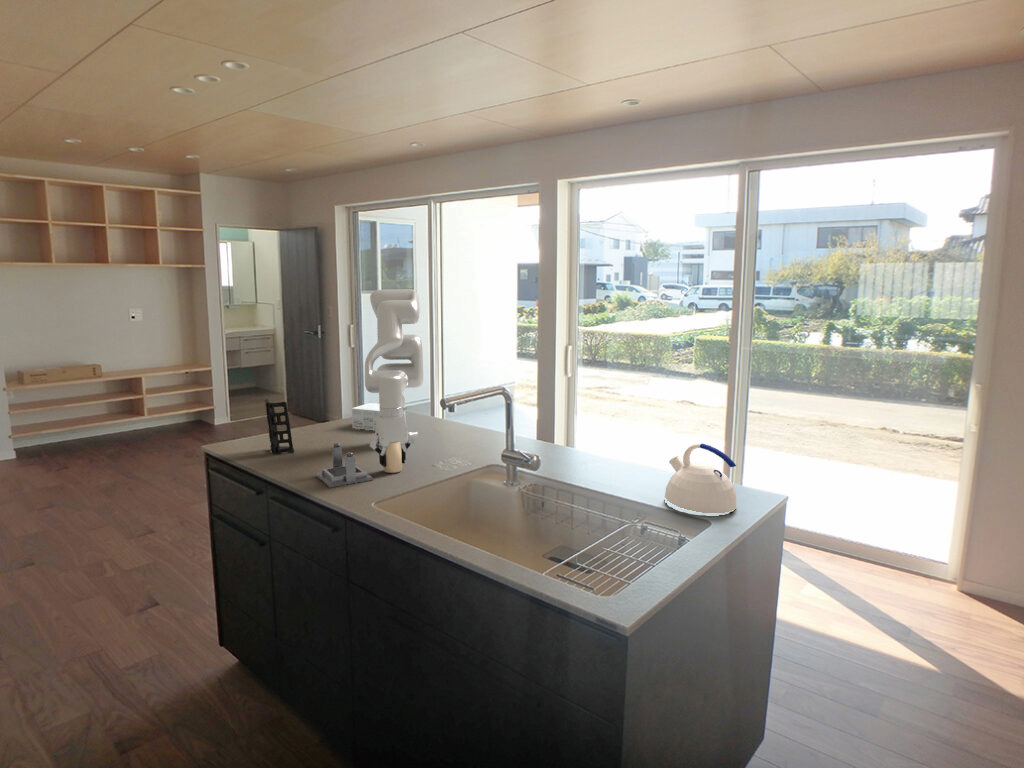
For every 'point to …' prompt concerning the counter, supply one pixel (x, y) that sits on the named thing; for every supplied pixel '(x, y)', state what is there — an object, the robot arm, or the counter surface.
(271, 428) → the holder
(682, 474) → the kettle
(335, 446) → the stand
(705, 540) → the counter surface
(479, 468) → the counter surface
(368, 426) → the supplement box
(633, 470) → the counter surface
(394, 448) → the paper roll
